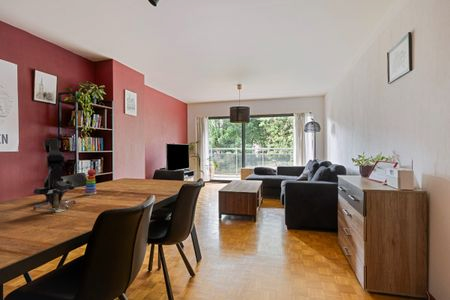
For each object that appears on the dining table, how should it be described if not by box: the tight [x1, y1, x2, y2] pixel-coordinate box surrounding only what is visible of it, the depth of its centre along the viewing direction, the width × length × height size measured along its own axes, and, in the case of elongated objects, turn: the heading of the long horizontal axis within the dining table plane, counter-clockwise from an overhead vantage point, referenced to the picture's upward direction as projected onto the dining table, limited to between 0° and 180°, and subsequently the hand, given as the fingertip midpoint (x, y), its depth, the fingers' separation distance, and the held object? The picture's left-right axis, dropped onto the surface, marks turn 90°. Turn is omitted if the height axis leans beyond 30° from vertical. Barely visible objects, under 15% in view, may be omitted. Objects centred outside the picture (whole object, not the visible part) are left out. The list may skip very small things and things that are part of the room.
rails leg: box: [33, 204, 69, 214], centre depth 134 cm, size 17×8×2 cm, turn 69°
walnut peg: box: [51, 193, 60, 210], centre depth 133 cm, size 3×3×8 cm
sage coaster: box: [51, 208, 67, 213], centre depth 132 cm, size 5×5×1 cm
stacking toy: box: [83, 168, 97, 196], centre depth 177 cm, size 8×8×19 cm
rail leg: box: [32, 198, 77, 211], centre depth 141 cm, size 8×20×2 cm, turn 159°
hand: (55, 204), depth 133 cm, fingers closed on walnut peg, 3 cm apart
